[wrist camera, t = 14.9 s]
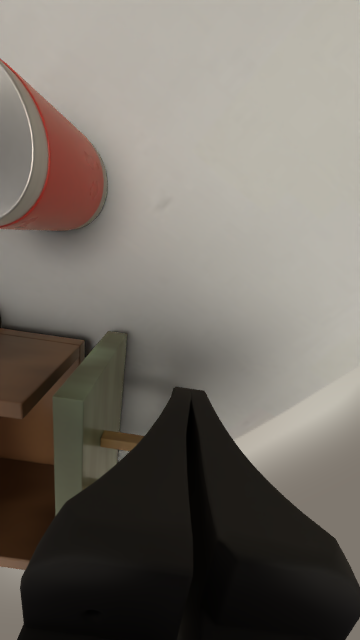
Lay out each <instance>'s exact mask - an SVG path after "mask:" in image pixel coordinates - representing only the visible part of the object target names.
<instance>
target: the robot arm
mask: <svg viewBox="0 0 360 640" xmlns="http://www.w3.org/2000/svg"><path fill="white" fill-rule="evenodd" d="M20 591H21V600H22V610H23V618H24V625H23V627H22V629H21V632H20V634H19V637H18V639H17V640H345V639H346V638H347V636H348V635H349V633H350V631H351V630H352V628H353V627H354V625H355V624H356V622H357V621H358V619H359V617H360V587H359V584H358V582H357V580H356V578H355V576H354V573H353V571H352V569H351V567H350V565H349V563H348V561H347V559H346V557H345V555H344V553H343V552H342V550H341V548H340V546H339V544H338V543H337V541H336V539H335V538H334V537H333V536H331V535H330V534H329V533H328V532H326V531H325V530H324V529H322V528H321V527H320V526H319V525H317V524H316V523H315V522H314V521H312V520H311V519H310V518H308V517H307V516H306V515H305V514H303V513H302V512H301V511H300V510H299V509H298V508H297V507H295V506H294V505H293V504H292V503H291V502H290V501H289V500H287V499H286V498H285V497H284V496H283V495H282V494H281V493H280V492H279V491H278V490H277V489H276V488H275V487H273V486H272V485H271V484H270V483H269V482H268V480H266V479H265V478H264V477H263V475H262V474H261V473H260V472H259V471H258V470H257V469H256V468H255V467H254V466H253V465H252V463H251V462H250V461H249V460H248V459H247V458H246V456H245V455H244V454H243V453H242V451H241V450H240V449H239V447H238V446H237V445H236V443H235V442H234V441H233V439H232V438H231V436H230V435H229V433H228V432H227V430H226V429H225V427H224V426H223V424H222V422H221V421H220V419H219V417H218V416H217V414H216V412H215V410H214V408H213V407H212V405H211V403H210V401H209V399H208V397H207V394H206V393H205V391H203V390H196V389H189V388H182V387H175V388H173V392H172V395H171V397H170V399H169V401H168V403H167V405H166V407H165V408H164V410H163V412H162V413H161V415H160V416H159V418H158V419H157V421H156V422H155V423H154V425H153V426H152V427H151V429H150V430H149V431H148V432H147V434H146V435H145V436H144V437H143V438H142V439H141V441H140V442H139V443H138V444H137V445H136V446H135V447H134V448H133V449H132V450H131V451H130V452H129V453H128V454H127V455H126V456H125V457H124V458H123V459H122V460H121V461H119V462H118V463H117V464H116V465H115V466H114V467H112V468H111V469H110V470H109V471H108V472H106V473H105V474H104V475H103V476H101V477H100V478H99V479H98V480H96V481H95V482H94V483H92V484H91V485H89V486H88V487H86V488H85V489H84V490H82V491H81V492H79V493H78V494H76V495H75V496H73V497H72V498H71V499H69V500H68V501H66V502H65V504H64V505H63V506H62V508H61V509H60V511H59V512H58V513H57V515H56V516H55V518H54V519H53V521H52V522H51V524H50V525H49V527H48V528H47V530H46V532H45V533H44V535H43V537H42V538H41V540H40V542H39V544H38V545H37V547H36V549H35V551H34V553H33V556H32V558H31V560H30V562H29V564H28V566H27V568H26V570H25V572H24V574H23V576H22V578H21V586H20Z"/></svg>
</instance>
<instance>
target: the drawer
mask: <svg viewBox="0 0 360 640" xmlns="http://www.w3.org/2000/svg"><path fill="white" fill-rule="evenodd" d="M126 342H127V334H125V333H118V332H111V331H108V332H107V333H106V334H105V336H104V337H103V338H102V339H101V340H100V342H99V343H98V344H97V345H96V346H95V347H94V349H93V350H92V351H91V352H90V353H89V354H88V356H87V357H86V358H85V359H84V357H85V341H84V340H79V339H72V338H65V337H58V336H51V335H44V334H37V333H31V332H24V331H17V330H10V329H3V328H0V566H1V567H8V568H16V569H22V570H26V568H27V566H28V564H29V562H30V560H31V558H32V556H33V553H34V551H35V549H36V547H37V545H38V544H39V542H40V540H41V538H42V537H43V535H44V533H45V532H46V530H47V528H48V527H49V525H50V524H51V522H52V521H53V519H54V518H55V516H56V515H57V513H58V512H59V511H60V509H61V508H62V506H63V505H64V504H65V502H66V501H68V500H69V499H71V498H72V497H73V496H75V495H76V494H78V493H79V492H81V491H82V490H84V489H85V488H86V487H88V486H89V485H91V484H92V483H94V482H95V481H96V480H98V479H99V478H100V477H101V476H103V475H104V474H105V473H106V472H108V471H109V470H110V469H111V468H112V467H114V466H115V465H116V464H117V456H118V450H125V451H131V450H132V449H133V448H134V447H135V446H136V445H137V444H138V443H139V442H140V441H141V439H142V438H143V437H144V436H142V435H135V434H128V433H121V432H119V431H120V418H121V405H122V392H123V380H124V367H125V354H126Z"/></svg>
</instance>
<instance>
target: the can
mask: <svg viewBox="0 0 360 640" xmlns="http://www.w3.org/2000/svg"><path fill="white" fill-rule="evenodd" d="M106 195H107V175H106V171H105V167H104V164H103V161H102V159H101V157H100V155H99V153H98V152H97V150H96V149H95V148H94V146H93V145H92V144H91V143H90V142H89V140H88V139H87V138H86V137H85V136H84V135H83V134H82V133H81V132H80V131H79V130H78V129H77V128H76V127H75V126H73V125H72V124H71V123H70V122H69V121H68V120H67V119H66V118H65V117H64V116H63V115H62V114H61V113H59V112H58V111H57V110H56V109H55V108H54V107H53V106H52V105H51V104H50V103H49V102H48V101H46V100H45V99H44V98H43V97H42V96H41V95H40V94H39V93H38V92H37V91H36V90H35V89H33V88H32V87H31V86H30V85H29V84H28V83H27V82H26V81H25V80H24V79H23V78H22V77H21V76H19V75H18V74H17V73H16V72H15V71H14V70H13V69H12V68H11V67H10V66H9V65H8V64H6V63H5V62H4V61H3V60H1V59H0V229H15V230H52V231H65V230H74V229H79V228H81V227H84V226H86V225H88V224H89V223H90V222H92V221H93V220H94V219H95V218H96V217H97V216H98V214H99V213H100V211H101V210H102V208H103V206H104V203H105V200H106Z"/></svg>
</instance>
